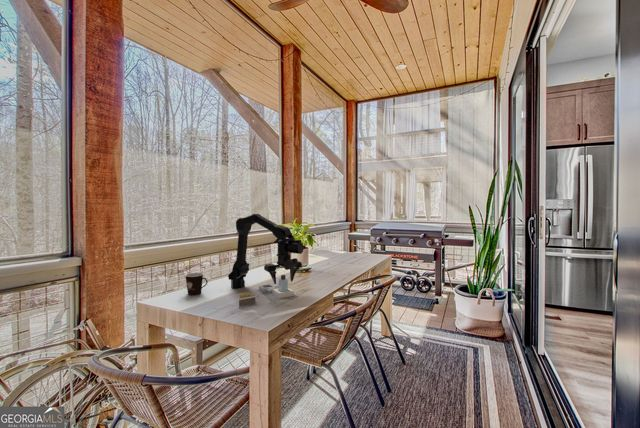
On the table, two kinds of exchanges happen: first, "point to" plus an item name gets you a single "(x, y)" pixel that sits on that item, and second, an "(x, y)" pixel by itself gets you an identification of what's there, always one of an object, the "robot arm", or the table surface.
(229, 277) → the robot arm
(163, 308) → the table surface
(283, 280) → the plug
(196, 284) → the coffee mug
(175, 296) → the table surface
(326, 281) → the table surface
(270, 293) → the panel board
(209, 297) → the table surface
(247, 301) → the platform
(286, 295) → the port block
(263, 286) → the hollow square tube
